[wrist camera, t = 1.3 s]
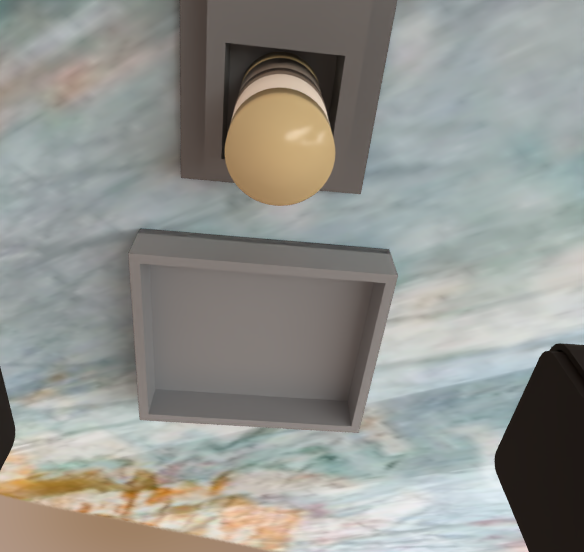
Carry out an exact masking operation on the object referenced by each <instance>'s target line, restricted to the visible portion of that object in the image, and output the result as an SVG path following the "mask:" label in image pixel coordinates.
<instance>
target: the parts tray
mask: <svg viewBox="0 0 584 552" xmlns="http://www.w3.org/2000/svg"><path fill="white" fill-rule="evenodd" d="M128 257H129V272H130V286H131V301H132V315H133V330H134V344H135V359H136V373H137V388H138V403H139V417H140V420H149V421H166V422H183V423H200V424H217V425H234V426H251V427H268V428H285V429H302V430H319V431H336V432H353V433H359V429H360V425H361V421H362V417H363V413H364V409H365V405H366V401H367V397H368V393H369V389H370V385H371V381H372V377H373V373H374V369H375V365H376V361H377V357H378V353H379V349H380V345H381V341H382V337H383V333H384V329H385V325H386V321H387V317H388V313H389V309H390V305H391V301H392V297H393V293H394V289H395V285H396V281H397V277H398V274H397V271H396V268H395V265H394V262H393V259H392V257H391V254H390V251H389V249H378V248H366V247H354V246H342V245H331V244H319V243H307V242H295V241H283V240H271V239H259V238H247V237H235V236H223V235H212V234H200V233H188V232H176V231H164V230H152V229H140V230H139V232H138V234H137V237H136V239H135V241H134V243H133V245H132V247H131V249H130V251H129V253H128Z"/></svg>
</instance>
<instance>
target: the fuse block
mask: <svg viewBox="0 0 584 552" xmlns="http://www.w3.org/2000/svg"><path fill="white" fill-rule="evenodd" d="M396 4H397V0H180V95H181V178H189V179H200V180H211V181H222V182H233V183H235V182H234V181H233V179H232V178H231V176H230V174H229V171H228V169H227V165H226V161H225V142H226V138H227V134H228V131H229V127H230V123H231V120H232V116H233V111H234V107H235V103H236V100H237V97H238V94H239V91H240V87H241V83H242V80H243V77H244V75H245V73H246V71H247V69H248V68H249V66H250V65H251V64H252V63H253V62H254V61H255V60H257V59H258V58H259V57H261V56H263V55H265V54H268V53H272V52H288V53H292V54H295V55H297V56H299V57H301V58H302V59H304V60H305V61H306V62H307V63H308V64H309V65H310V66H311V67H312V69H313V70H314V72H315V74H316V76H317V79H318V82H319V86H320V89H321V93H322V97H323V100H324V103H325V106H326V110H327V116H328V120H329V123H330V127H331V131H332V135H333V139H334V144H335V161H334V166H333V169H332V172H331V174H330V176H329V178H328V180H327V181H326V183H325V184H324V185H323V187H322V188H321V189H320V191H331V192H342V193H353V194H361V190H362V184H363V179H364V174H365V169H366V163H367V158H368V153H369V147H370V142H371V137H372V131H373V126H374V121H375V115H376V110H377V105H378V99H379V94H380V89H381V83H382V78H383V73H384V68H385V62H386V57H387V52H388V46H389V41H390V36H391V30H392V25H393V20H394V14H395V9H396Z"/></svg>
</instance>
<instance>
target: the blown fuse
mask: <svg viewBox="0 0 584 552" xmlns="http://www.w3.org/2000/svg"><path fill="white" fill-rule="evenodd" d="M225 161H226V165H227V169H228V171H229V174H230V176H231V178H232V179H233V181H234V182H235V184H236V185H237V186H238V187H239V188H240V189H241V190H242V191H243V192H244V193H245V194H247V195H248V196H249V197H251V198H253V199H255V200H257V201H259V202H262V203H265V204H269V205H277V206H284V205H291V204H296V203H299V202H302V201H304V200H306V199H308V198H309V197H311V196H313V195H314V194H315V193H316V192H318V191H319V190H320V189H321V188H322V187H323V185H324V184H325V183H326V181H327V180H328V178H329V176H330V174H331V172H332V169H333V166H334V161H335V144H334V139H333V135H332V131H331V127H330V123H329V120H328V116H327V110H326V106H325V103H324V100H323V97H322V93H321V89H320V86H319V82H318V79H317V76H316V74H315V72H314V70H313V69H312V67H311V66H310V65H309V64H308V63H307V62H306V61H305V60H304V59H302V58H301V57H299V56H297V55H295V54H292V53H288V52H272V53H268V54H265V55H263V56H261V57H259V58H258V59H257V60H255V61H254V62H253V63H252V64H251V65H250V66H249V68H248V69H247V71H246V73H245V75H244V77H243V80H242V83H241V87H240V91H239V94H238V97H237V100H236V103H235V107H234V111H233V116H232V120H231V123H230V127H229V131H228V134H227V138H226V142H225Z"/></svg>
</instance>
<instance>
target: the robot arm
mask: <svg viewBox="0 0 584 552" xmlns="http://www.w3.org/2000/svg"><path fill="white" fill-rule="evenodd" d="M14 439H15V425H14V421H13V416H12V412H11V408H10V404H9V400H8V396H7V392H6V388H5V384H4V380H3V376H2V372H1V368H0V470H1V468H2V466H3V464H4V462H5V460H6V458H7V456H8V455H9V453H10V451H11V448H12V446H13V443H14ZM495 469H496V473H497V475H498V478H499V480H500V483H501V485H502V488H503V490H504V492H505V495H506V497H507V500H508V502H509V504H510V507H511V509H512V512H513V514H514V517H515V519H516V521H517V524H518V526H519V529H520V531H521V533H522V536H523V538H524V541H525V543H526V546H527V548H528V550H529V552H584V345H575V344H561V343H560V344H555V345H554V346H553V347H551V349H550V351H545V352H544V353H542V355H541V356H540V358H539V360H538V362H537V364H536V367H535V369H534V371H533V373H532V375H531V377H530V380H529V382H528V384H527V386H526V388H525V390H524V392H523V395H522V397H521V399H520V401H519V403H518V405H517V408H516V410H515V412H514V414H513V416H512V418H511V421H510V423H509V425H508V427H507V429H506V431H505V433H504V436H503V438H502V440H501V442H500V444H499V446H498V449H497V451H496V454H495Z"/></svg>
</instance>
